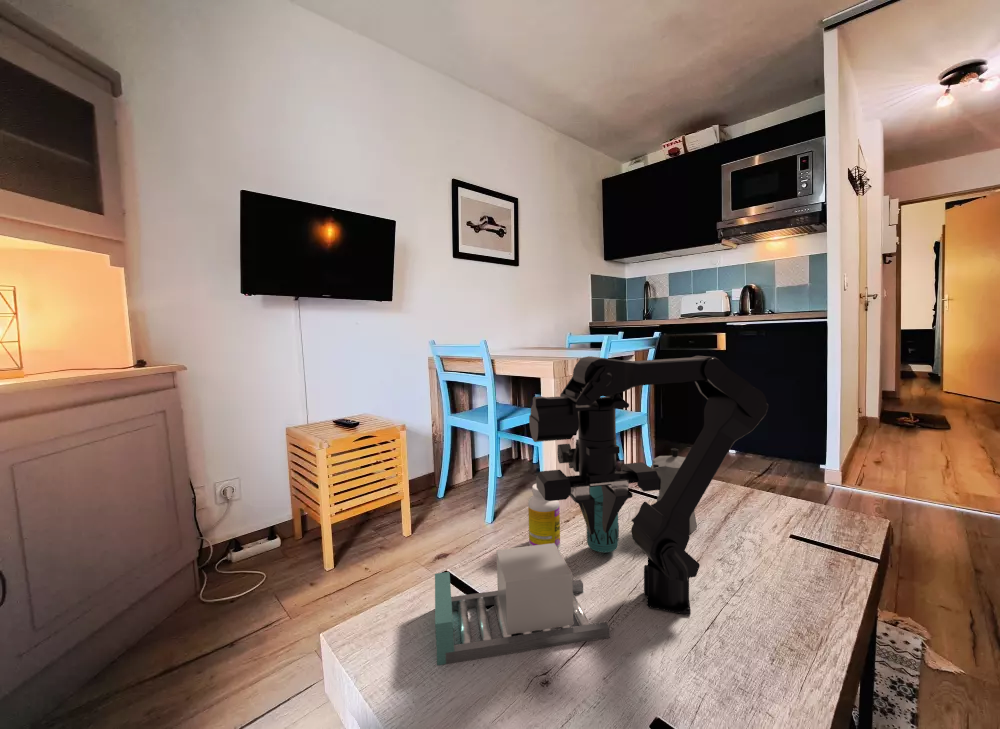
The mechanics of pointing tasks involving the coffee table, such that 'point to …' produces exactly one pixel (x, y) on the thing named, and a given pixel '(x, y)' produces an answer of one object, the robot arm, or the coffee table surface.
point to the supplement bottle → (543, 520)
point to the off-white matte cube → (534, 588)
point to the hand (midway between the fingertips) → (598, 532)
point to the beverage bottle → (600, 538)
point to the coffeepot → (670, 476)
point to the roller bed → (508, 642)
